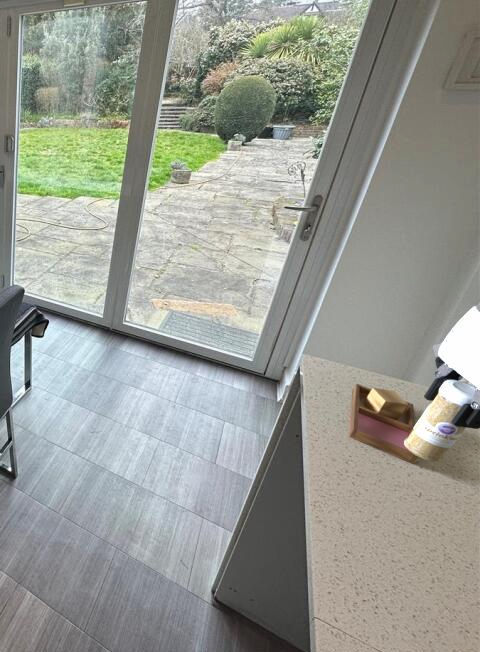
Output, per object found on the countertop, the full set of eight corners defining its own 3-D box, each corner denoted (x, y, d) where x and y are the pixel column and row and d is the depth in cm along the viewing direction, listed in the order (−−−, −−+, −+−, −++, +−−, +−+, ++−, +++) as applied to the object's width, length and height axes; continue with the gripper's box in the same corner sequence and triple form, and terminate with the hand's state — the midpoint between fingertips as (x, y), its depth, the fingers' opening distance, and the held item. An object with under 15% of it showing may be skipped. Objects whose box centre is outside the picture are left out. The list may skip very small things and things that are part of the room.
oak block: (385, 404, 87) (394, 390, 86) (398, 418, 84) (408, 404, 82) (363, 401, 88) (372, 387, 86) (376, 415, 85) (385, 401, 83)
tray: (408, 411, 87) (413, 404, 86) (413, 464, 75) (419, 456, 74) (352, 390, 92) (356, 383, 91) (348, 436, 80) (353, 429, 79)
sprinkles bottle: (411, 457, 66) (456, 394, 60) (397, 436, 70) (437, 375, 64) (448, 467, 64) (498, 403, 58) (432, 444, 68) (477, 382, 62)
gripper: (633, 355, 47) (534, 463, 55) (497, 286, 62) (435, 379, 70) (552, 347, 48) (467, 453, 56) (438, 281, 63) (384, 373, 71)
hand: (450, 411), depth 63 cm, fingers closed on sprinkles bottle, 4 cm apart
